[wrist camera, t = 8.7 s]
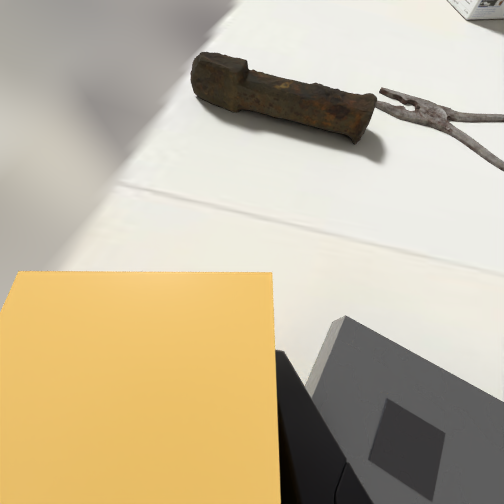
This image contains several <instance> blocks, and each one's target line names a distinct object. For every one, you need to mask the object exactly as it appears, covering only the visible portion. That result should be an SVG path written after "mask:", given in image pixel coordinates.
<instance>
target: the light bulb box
mask: <svg viewBox="0 0 504 504" xmlns="http://www.w3.org/2000/svg"><path fill="white" fill-rule="evenodd" d="M448 1H449V2H450V3H451V4H452V6H454V7H455V8H456V10H457V11H458V12H459V13H460V14H461V15H462V16H463V17H464V18H465V19H467V20H471V19H504V0H448Z"/></svg>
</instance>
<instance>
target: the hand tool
mask: <svg viewBox="0 0 504 504" xmlns="http://www.w3.org/2000/svg"><path fill="white" fill-rule="evenodd" d="M191 84H192V88H193V91H194V93H195V94H196V95H197V96H198V97H200V98H202V99H203V100H205V101H208V102H209V103H211V104H214V105H217V106H219V107H222V108H225V109H227V110H229V111H232V112H235V113H237V112H239V111H241V110H242V109H244V110H252V111H255V112H259V113H262V114H266V115H270V116H272V117H274V118H283V119H286V120H290V121H294V122H298V123H301V124H305V125H308V126H313V127H317V128H320V129H324V130H327V131H331V132H334V133H341V134H344V135H347V136H350V137H351V138H352V141H353V143H354V144H356V143H357V142H358V141H360V139H361V137H362V135H363V134H364V132H365V130H366V128H367V126H368V124H369V122H370V119H371V117H372V114H373V111H374V108H375V105H376V102H377V97H376V96H375V95H374V94H371V93H368V94H364V95H360V94H353V93H347V92H344V91H340V90H339V89H333V88H330V87H327V86H323V85H322V84H317V83H313V84H307V83H302V82H298V81H295V80H289V79H285V78H281V77H276V76H273V75H269V74H265V73H263V72H257V71H255V70H249V69H248V63H247V60H244V59H241V58H233V57H230V56H227V55H222V54H220V53H209V52H201V53H200V55H198V56H196V58H195V59H194V61H193V64H192V71H191Z"/></svg>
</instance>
